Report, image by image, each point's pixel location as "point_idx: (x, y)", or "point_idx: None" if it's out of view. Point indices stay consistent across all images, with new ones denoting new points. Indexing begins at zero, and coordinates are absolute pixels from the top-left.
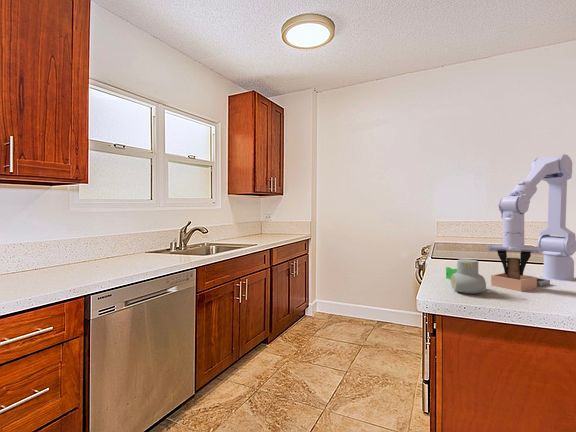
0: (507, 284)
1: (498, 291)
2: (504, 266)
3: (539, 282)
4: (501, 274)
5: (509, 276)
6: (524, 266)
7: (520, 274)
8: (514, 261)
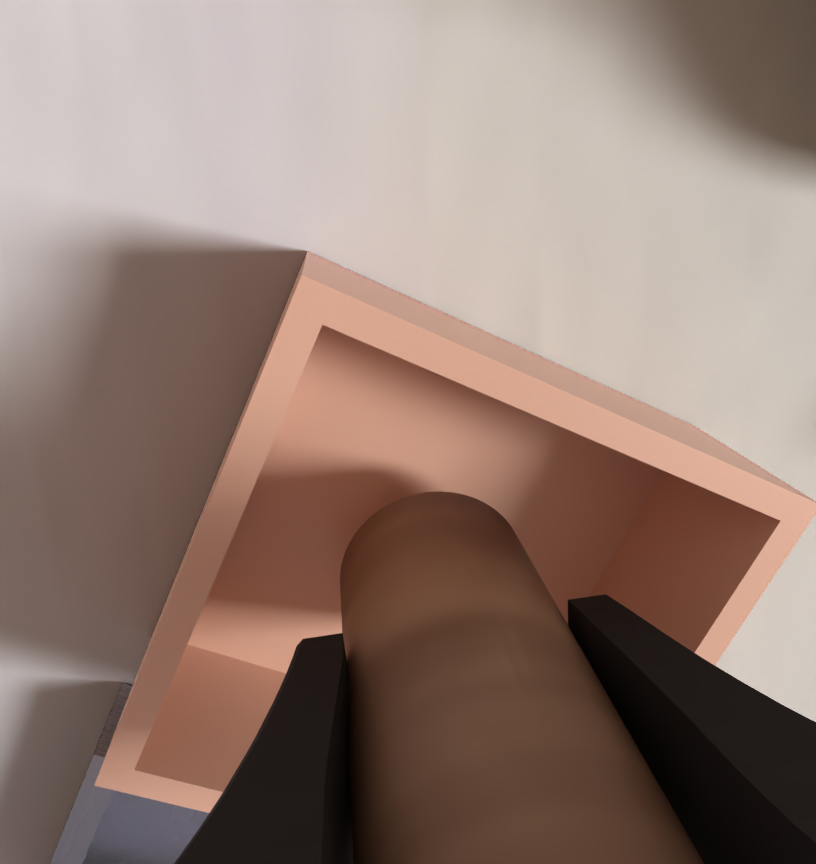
0: (515, 354)
1: (606, 198)
2: (706, 674)
3: (94, 753)
4: None
5: (519, 564)
6: (242, 778)
7: (338, 639)
8: (525, 841)
